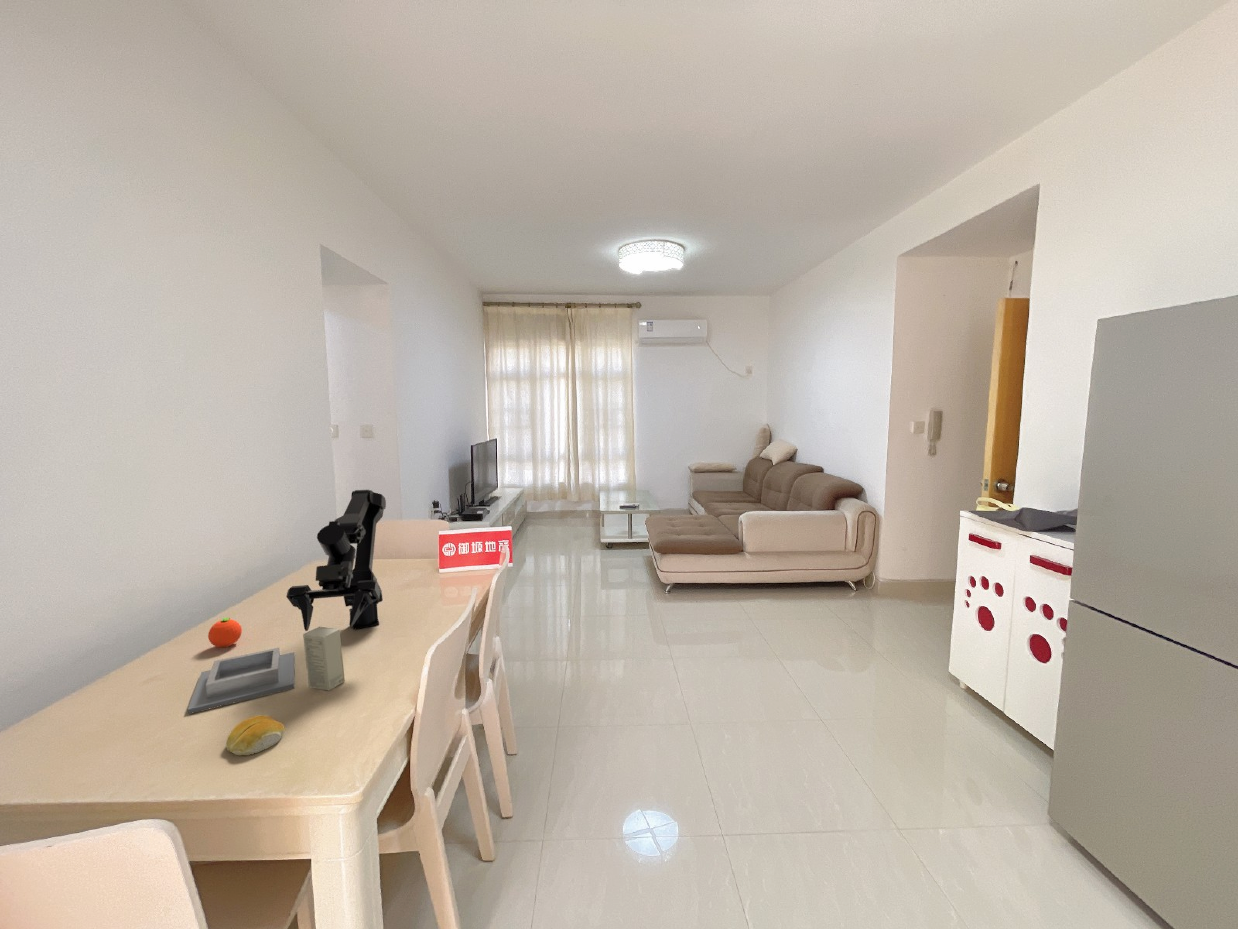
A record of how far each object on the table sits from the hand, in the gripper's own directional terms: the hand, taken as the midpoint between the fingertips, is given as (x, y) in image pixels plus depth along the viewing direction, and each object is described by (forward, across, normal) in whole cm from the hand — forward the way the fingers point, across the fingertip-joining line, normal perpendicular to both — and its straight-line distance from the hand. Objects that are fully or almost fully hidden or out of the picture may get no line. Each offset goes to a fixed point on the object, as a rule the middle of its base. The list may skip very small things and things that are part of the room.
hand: (328, 628), depth 117 cm
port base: (+7, -18, +9) cm, 21 cm away
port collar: (+7, -18, +9) cm, 21 cm away
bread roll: (+24, -6, -8) cm, 26 cm away
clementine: (-9, -32, +25) cm, 41 cm away
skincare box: (+11, 0, +5) cm, 12 cm away
